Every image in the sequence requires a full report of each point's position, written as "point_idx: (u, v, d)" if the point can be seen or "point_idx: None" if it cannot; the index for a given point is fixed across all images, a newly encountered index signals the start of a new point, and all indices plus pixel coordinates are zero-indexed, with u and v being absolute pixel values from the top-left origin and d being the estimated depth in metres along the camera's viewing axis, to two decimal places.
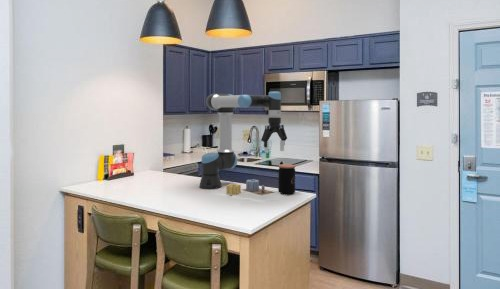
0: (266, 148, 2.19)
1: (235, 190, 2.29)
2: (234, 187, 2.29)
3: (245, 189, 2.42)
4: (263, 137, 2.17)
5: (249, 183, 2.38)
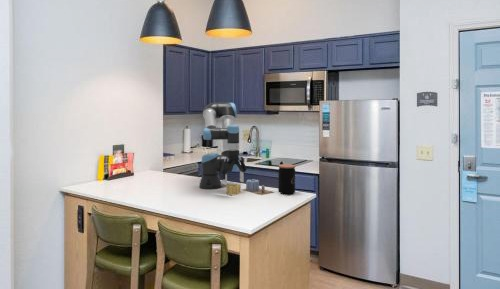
0: (224, 180, 2.26)
1: (235, 190, 2.29)
2: (234, 187, 2.29)
3: (245, 189, 2.42)
4: (221, 170, 2.24)
5: (249, 183, 2.38)
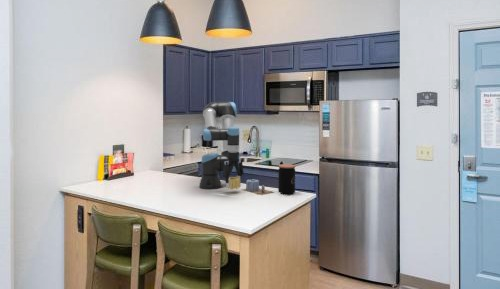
0: (228, 184, 2.29)
1: (235, 183, 2.29)
2: (234, 180, 2.29)
3: (245, 189, 2.42)
4: (224, 174, 2.27)
5: (249, 183, 2.38)
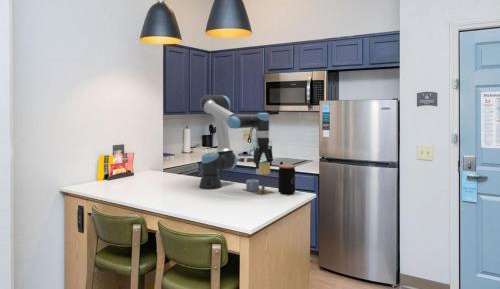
0: (258, 169, 2.29)
1: (265, 169, 2.29)
2: (264, 166, 2.28)
3: (245, 189, 2.42)
4: (254, 159, 2.27)
5: (249, 183, 2.38)
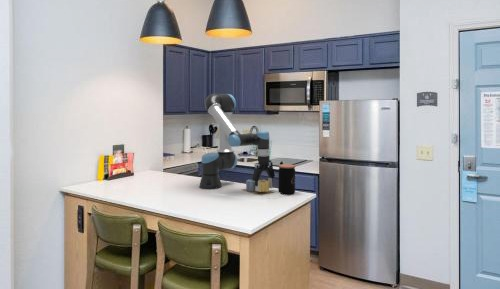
0: (257, 187, 2.30)
1: (264, 186, 2.30)
2: (263, 183, 2.29)
3: (245, 189, 2.42)
4: (254, 177, 2.28)
5: (249, 183, 2.38)
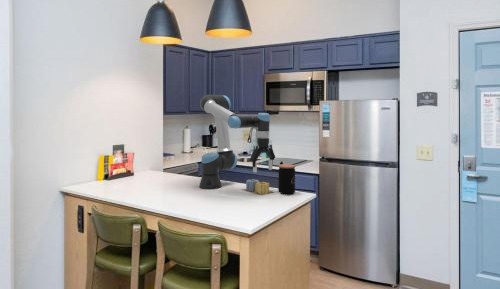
0: (254, 168, 2.27)
1: (264, 188, 2.30)
2: (263, 185, 2.30)
3: (245, 189, 2.42)
4: (251, 157, 2.25)
5: (249, 183, 2.38)
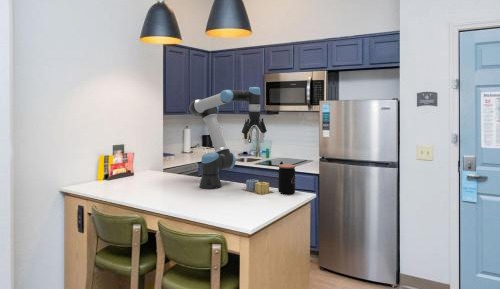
0: (246, 140, 2.36)
1: (264, 188, 2.30)
2: (263, 185, 2.30)
3: (245, 189, 2.42)
4: (243, 129, 2.34)
5: (249, 183, 2.38)
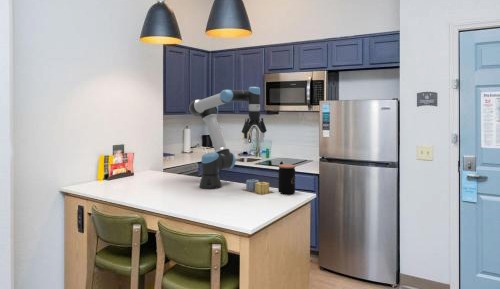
0: (246, 139, 2.36)
1: (264, 188, 2.30)
2: (263, 185, 2.30)
3: (245, 189, 2.42)
4: (243, 129, 2.34)
5: (249, 183, 2.38)
